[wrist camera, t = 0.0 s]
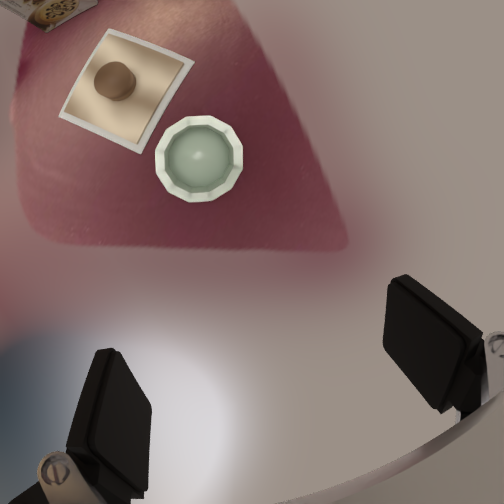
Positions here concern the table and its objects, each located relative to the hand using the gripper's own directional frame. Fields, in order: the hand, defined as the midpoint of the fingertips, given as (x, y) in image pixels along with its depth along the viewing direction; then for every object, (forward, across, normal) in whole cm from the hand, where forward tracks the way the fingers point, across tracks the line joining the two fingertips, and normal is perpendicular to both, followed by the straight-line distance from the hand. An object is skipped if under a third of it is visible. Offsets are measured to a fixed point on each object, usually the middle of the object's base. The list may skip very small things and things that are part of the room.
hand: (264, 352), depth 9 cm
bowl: (+31, +1, -5) cm, 32 cm away
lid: (+31, +9, -17) cm, 36 cm away
